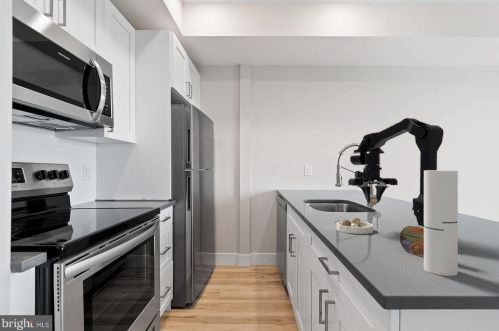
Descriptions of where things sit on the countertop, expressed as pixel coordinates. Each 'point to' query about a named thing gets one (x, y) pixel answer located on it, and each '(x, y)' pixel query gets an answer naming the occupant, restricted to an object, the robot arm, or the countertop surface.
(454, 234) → the cylindrical container
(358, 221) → the oak bead
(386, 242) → the countertop surface
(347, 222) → the walnut bead
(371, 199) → the maple bead
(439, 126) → the robot arm
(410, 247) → the tin
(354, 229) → the groove tray
